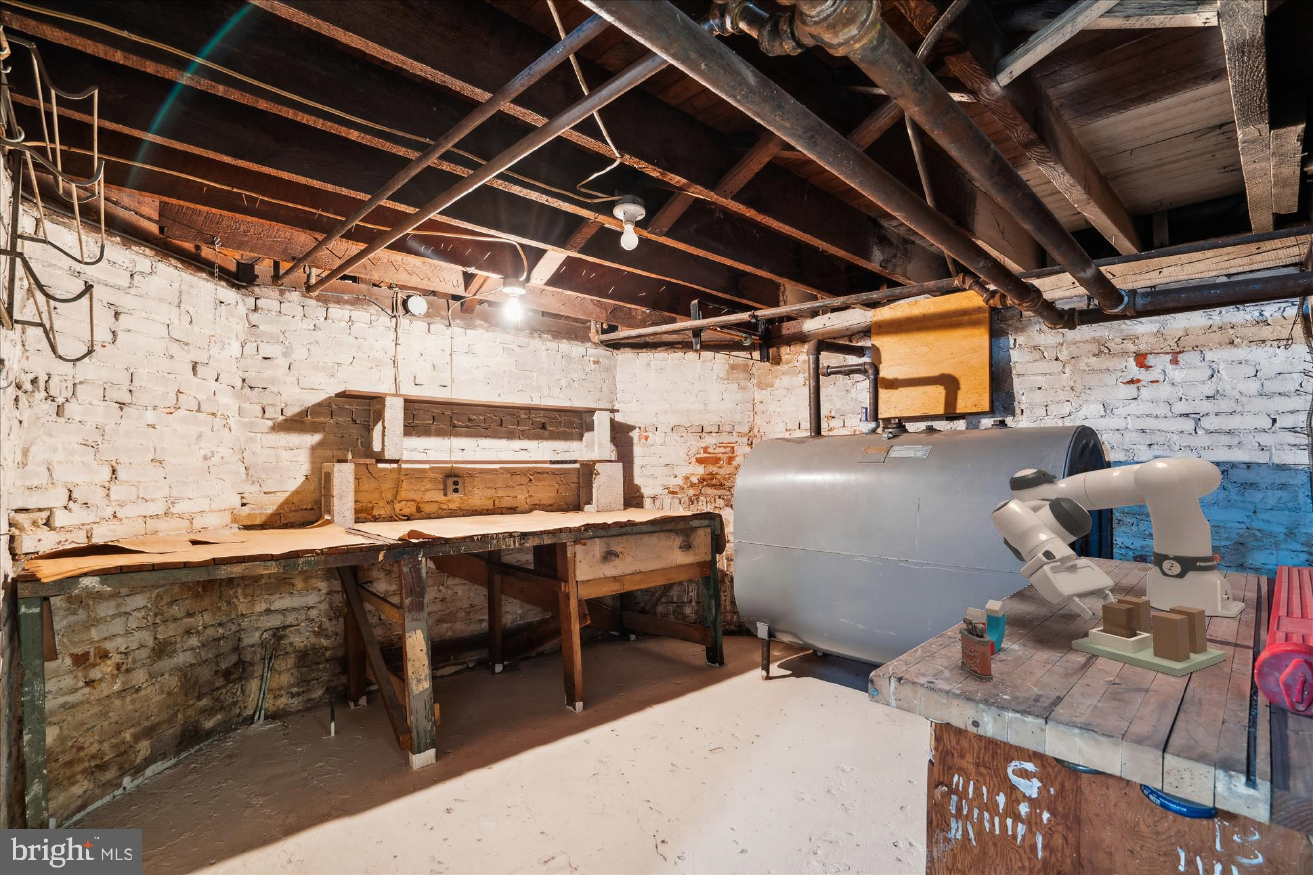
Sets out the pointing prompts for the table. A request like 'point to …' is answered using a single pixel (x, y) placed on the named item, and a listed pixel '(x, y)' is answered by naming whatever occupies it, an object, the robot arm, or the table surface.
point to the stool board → (1151, 659)
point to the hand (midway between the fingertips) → (1103, 613)
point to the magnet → (991, 622)
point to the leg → (1119, 620)
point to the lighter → (975, 650)
